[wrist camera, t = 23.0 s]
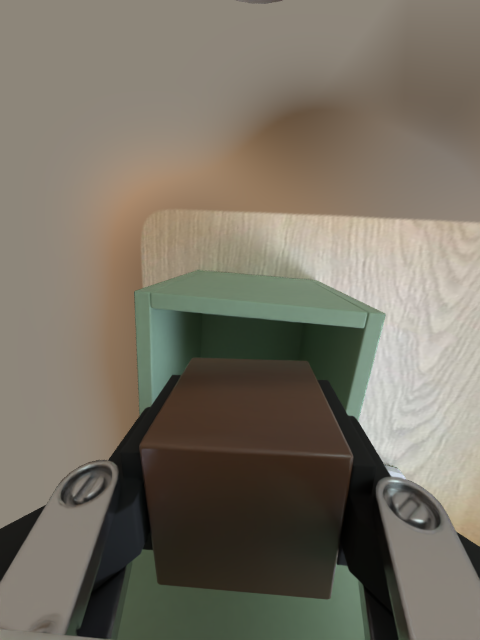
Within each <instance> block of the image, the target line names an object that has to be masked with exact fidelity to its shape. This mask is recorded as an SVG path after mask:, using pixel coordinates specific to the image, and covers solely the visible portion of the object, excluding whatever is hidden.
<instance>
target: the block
mask: <svg viewBox="0 0 480 640" xmlns="http://www.w3.org/2000/svg"><path fill="white" fill-rule="evenodd" d="M139 450H140V457H141V465H142V472H143V480H144V487H145V494H146V502H147V509H148V517H149V524H150V532H151V539H152V547H153V554H154V561H155V569H156V576H157V583H158V584H160V585H168V586H179V587H191V588H202V589H213V590H225V591H236V592H247V593H259V594H270V595H281V596H292V597H304V598H315V599H326V600H328V599H330V598H331V594H332V588H333V582H334V576H335V569H336V563H337V557H338V551H339V545H340V538H341V532H342V526H343V520H344V514H345V508H346V501H347V495H348V489H349V483H350V477H351V470H352V464H353V454H352V452H351V450H350V448H349V446H348V444H347V442H346V439H345V437H344V435H343V433H342V431H341V429H340V427H339V425H338V423H337V421H336V419H335V416H334V414H333V412H332V410H331V408H330V406H329V404H328V402H327V400H326V398H325V396H324V393H323V391H322V389H321V387H320V385H319V383H318V381H317V379H316V377H315V375H314V373H313V371H312V368H311V366H310V364H309V362H308V361H293V360H259V359H226V358H192V359H191V360H190V362H189V363H188V365H187V367H186V368H185V370H184V372H183V373H182V375H181V377H180V378H179V380H178V382H177V383H176V385H175V387H174V388H173V390H172V392H171V393H170V395H169V396H168V398H167V400H166V401H165V403H164V405H163V406H162V408H161V410H160V411H159V413H158V415H157V416H156V418H155V420H154V421H153V423H152V424H151V426H150V428H149V429H148V431H147V433H146V434H145V436H144V438H143V439H142V441H141V443H140V445H139Z"/></svg>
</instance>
